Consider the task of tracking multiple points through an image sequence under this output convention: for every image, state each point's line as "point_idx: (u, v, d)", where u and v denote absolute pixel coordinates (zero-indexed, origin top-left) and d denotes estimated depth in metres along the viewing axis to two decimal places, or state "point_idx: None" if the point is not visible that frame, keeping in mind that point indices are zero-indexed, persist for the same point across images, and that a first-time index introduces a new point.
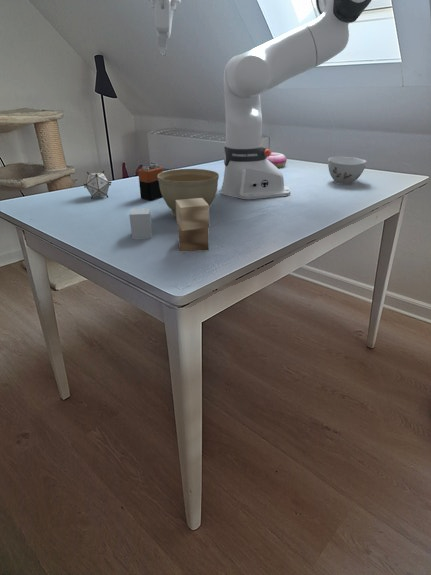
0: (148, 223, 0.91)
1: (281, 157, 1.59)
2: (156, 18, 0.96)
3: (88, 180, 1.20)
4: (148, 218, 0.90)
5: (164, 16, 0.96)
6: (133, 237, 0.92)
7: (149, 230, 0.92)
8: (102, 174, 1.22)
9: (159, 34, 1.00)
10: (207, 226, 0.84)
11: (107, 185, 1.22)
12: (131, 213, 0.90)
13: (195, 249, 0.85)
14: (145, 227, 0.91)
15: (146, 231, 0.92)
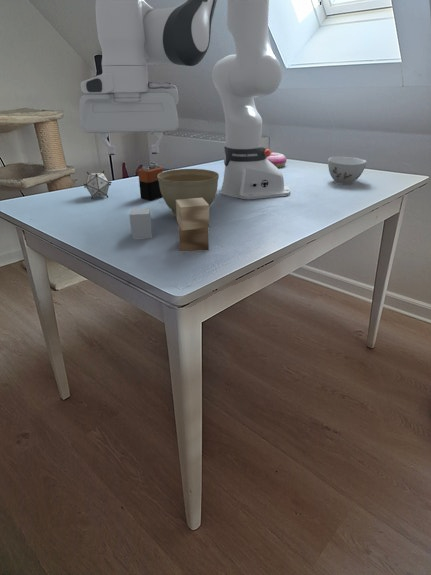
0: (148, 223, 0.91)
1: (281, 157, 1.59)
2: (177, 118, 0.82)
3: (88, 180, 1.20)
4: (148, 218, 0.90)
5: None
6: (133, 237, 0.92)
7: (149, 230, 0.92)
8: (102, 174, 1.22)
9: (162, 133, 0.83)
10: (207, 226, 0.84)
11: (107, 185, 1.22)
12: (131, 213, 0.90)
13: (195, 249, 0.85)
14: (145, 227, 0.91)
15: (146, 231, 0.92)
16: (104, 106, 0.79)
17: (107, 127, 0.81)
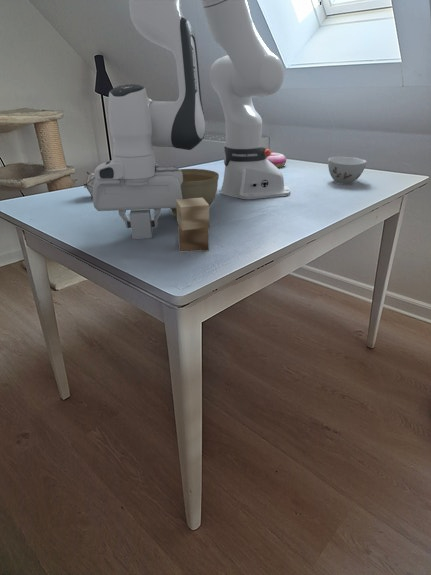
0: (148, 223, 0.91)
1: (281, 157, 1.59)
2: (181, 197, 0.90)
3: (88, 180, 1.20)
4: (148, 218, 0.90)
5: None
6: (133, 237, 0.92)
7: (149, 230, 0.92)
8: None
9: (160, 209, 0.91)
10: (207, 226, 0.84)
11: None
12: (131, 213, 0.90)
13: (195, 249, 0.86)
14: (145, 227, 0.91)
15: (146, 231, 0.92)
16: (115, 188, 0.87)
17: (118, 206, 0.89)
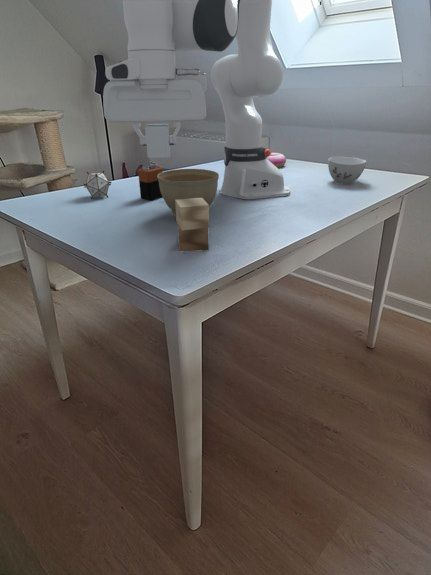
0: (166, 138, 0.79)
1: (281, 157, 1.59)
2: (205, 106, 0.78)
3: (88, 180, 1.20)
4: (166, 131, 0.78)
5: None
6: (149, 155, 0.80)
7: (167, 147, 0.80)
8: (102, 174, 1.22)
9: (180, 123, 0.79)
10: (207, 226, 0.84)
11: (107, 185, 1.22)
12: (147, 126, 0.78)
13: (195, 249, 0.86)
14: (163, 143, 0.79)
15: (164, 149, 0.80)
16: (129, 94, 0.75)
17: (132, 116, 0.77)
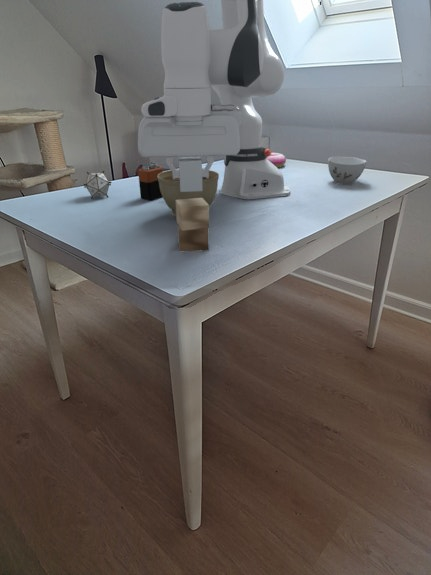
0: (200, 172, 0.79)
1: (280, 157, 1.59)
2: (239, 141, 0.77)
3: (88, 180, 1.20)
4: (200, 166, 0.78)
5: None
6: (181, 189, 0.80)
7: (200, 181, 0.80)
8: (102, 174, 1.22)
9: None
10: (207, 226, 0.84)
11: (107, 185, 1.22)
12: (180, 160, 0.78)
13: (195, 249, 0.86)
14: (196, 177, 0.79)
15: (197, 183, 0.80)
16: (164, 129, 0.75)
17: (166, 151, 0.77)
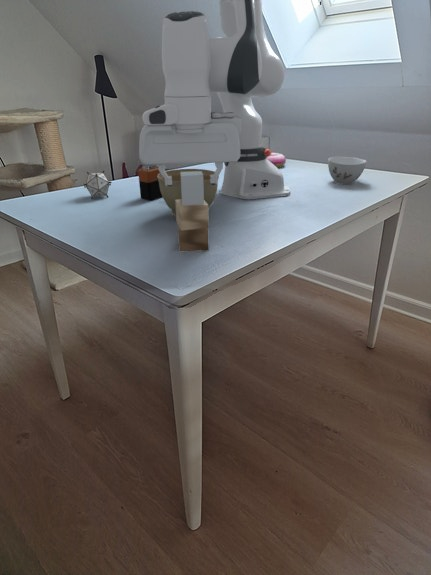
0: (201, 187, 0.80)
1: (280, 157, 1.59)
2: (239, 148, 0.78)
3: (88, 180, 1.20)
4: (202, 181, 0.80)
5: None
6: (183, 203, 0.81)
7: (202, 195, 0.81)
8: (102, 174, 1.22)
9: None
10: (206, 226, 0.84)
11: (107, 185, 1.22)
12: (182, 175, 0.80)
13: (195, 249, 0.86)
14: (198, 192, 0.81)
15: (198, 197, 0.81)
16: (165, 137, 0.76)
17: (167, 159, 0.77)
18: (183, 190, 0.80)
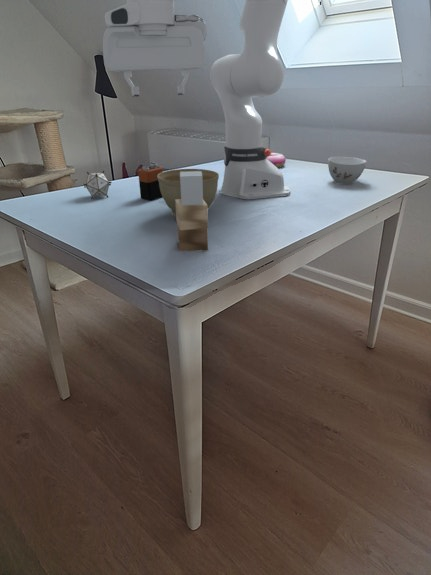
0: (200, 187, 0.80)
1: (280, 157, 1.58)
2: None
3: (88, 180, 1.20)
4: (201, 181, 0.80)
5: None
6: (183, 203, 0.82)
7: (201, 195, 0.81)
8: (102, 174, 1.22)
9: None
10: (206, 226, 0.84)
11: (107, 185, 1.22)
12: (182, 175, 0.80)
13: (194, 249, 0.86)
14: (197, 192, 0.81)
15: (197, 197, 0.81)
16: (129, 41, 0.76)
17: (132, 64, 0.77)
18: (182, 190, 0.80)
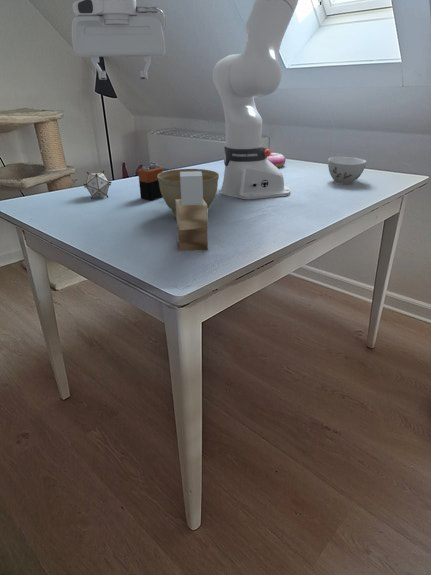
0: (200, 187, 0.80)
1: (280, 157, 1.58)
2: (164, 42, 0.87)
3: (88, 180, 1.20)
4: (201, 181, 0.80)
5: None
6: (183, 203, 0.82)
7: (201, 195, 0.81)
8: (102, 174, 1.22)
9: (150, 58, 0.89)
10: (206, 226, 0.84)
11: (107, 185, 1.22)
12: (182, 175, 0.80)
13: (194, 249, 0.86)
14: (197, 191, 0.81)
15: (198, 197, 0.81)
16: (95, 29, 0.85)
17: (98, 50, 0.86)
18: (182, 190, 0.80)
